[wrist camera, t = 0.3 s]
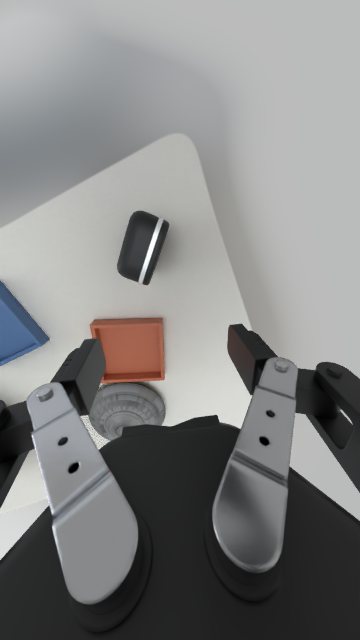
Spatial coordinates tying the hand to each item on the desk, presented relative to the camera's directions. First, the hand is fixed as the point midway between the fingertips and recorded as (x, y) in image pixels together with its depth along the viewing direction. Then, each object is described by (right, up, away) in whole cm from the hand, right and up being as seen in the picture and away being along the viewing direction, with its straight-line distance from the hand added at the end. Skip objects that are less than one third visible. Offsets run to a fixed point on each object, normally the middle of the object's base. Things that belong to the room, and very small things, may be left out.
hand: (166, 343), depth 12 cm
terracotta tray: (-8, -3, +23) cm, 24 cm away
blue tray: (-29, +1, +20) cm, 35 cm away
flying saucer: (-10, -16, +28) cm, 34 cm away
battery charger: (-4, +12, +17) cm, 21 cm away
